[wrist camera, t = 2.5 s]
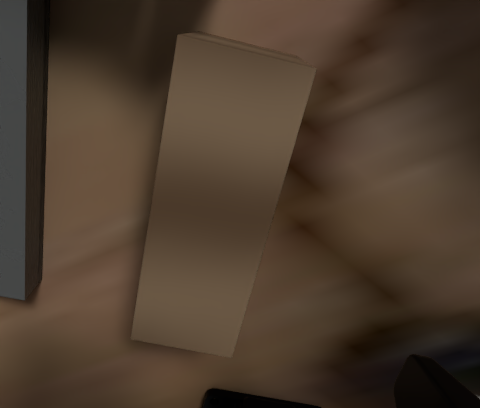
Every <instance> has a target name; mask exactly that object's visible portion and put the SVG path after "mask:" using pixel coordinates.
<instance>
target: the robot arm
mask: <svg viewBox="0 0 480 408" xmlns="http://www.w3.org/2000/svg"><path fill="white" fill-rule="evenodd" d="M394 397H395V403H396V408H480V399H479V398H478V397H477V396H476V395H474V394H473V393H472V392H471V391H470V390H469V389H467V388H466V387H465V386H464V385H463V384H462V383H460V382H459V381H458V380H457V379H456V378H455V377H453V376H452V375H451V374H450V373H449V372H448V371H446V370H445V369H444V368H443V367H442V366H441V365H439V364H438V363H437V362H436V361H435V360H434V359H432V358H430V357H427V356H422V355H416V354H412V355H410V356H408V358H407V359H406V361H405V363H404V365H403V367H402V369H401V371H400V373H399V375H398V377H397V379H396V381H395V384H394ZM214 398H216V399H214ZM202 408H321V407H318V406H313V405H307V404H302V403H296V402H290V401H284V400H279V399H273V398H267V397H261V396H255V395H250V394H244V393H238V392H232V391H226V390H221V389H210V390H209V391H207V393H206V395H205V399H204V402H203V406H202Z"/></svg>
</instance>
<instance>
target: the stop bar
mask: <svg viewBox="0 0 480 408" xmlns="http://www.w3.org/2000/svg"><path fill="white" fill-rule="evenodd" d="M315 73H316V68H315V67H313V66H311V65H310V64H308V63H307V62H305V61H303V60H302V59H300V58H299V57H297V56H295V55H291V54H287V53H283V52H279V51H275V50H271V49H267V48H263V47H259V46H255V45H251V44H247V43H243V42H239V41H235V40H231V39H227V38H223V37H219V36H215V35H211V34H207V33H203V32H199V31H198V32H191V33H184V34H178V35H177V41H176V48H175V54H174V61H173V67H172V74H171V80H170V87H169V93H168V99H167V106H166V112H165V119H164V125H163V132H162V138H161V145H160V151H159V158H158V164H157V171H156V177H155V184H154V190H153V197H152V203H151V209H150V216H149V222H148V229H147V235H146V242H145V248H144V255H143V261H142V268H141V274H140V281H139V287H138V294H137V300H136V306H135V313H134V319H133V326H132V332H131V339H132V340H137V341H142V342H148V343H153V344H158V345H164V346H169V347H175V348H180V349H185V350H191V351H196V352H201V353H207V354H212V355H217V356H223V357H228V358H232V356H233V353H234V349H235V346H236V342H237V339H238V335H239V332H240V329H241V325H242V322H243V318H244V315H245V312H246V308H247V305H248V301H249V298H250V295H251V291H252V288H253V284H254V281H255V277H256V274H257V271H258V267H259V264H260V260H261V257H262V254H263V250H264V247H265V243H266V240H267V237H268V233H269V230H270V226H271V223H272V220H273V216H274V213H275V209H276V206H277V202H278V199H279V196H280V192H281V189H282V185H283V182H284V179H285V175H286V172H287V168H288V165H289V162H290V158H291V155H292V151H293V148H294V145H295V141H296V138H297V134H298V131H299V127H300V124H301V121H302V117H303V114H304V110H305V107H306V104H307V100H308V97H309V93H310V90H311V87H312V83H313V80H314V76H315Z"/></svg>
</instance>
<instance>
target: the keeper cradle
mask: <svg viewBox="0 0 480 408" xmlns="http://www.w3.org/2000/svg"><path fill="white" fill-rule="evenodd" d="M49 10H50V0H0V296H3V297H9V298H14V299H20V300H25V299H26V298H27V297H28V296H29V294H30V293H31V292H32V291H33V289H34V288H35V287H36V286H37V285H38V283H39V282H40V281H41V280H42V258H43V223H44V187H45V152H46V116H47V81H48V46H49Z"/></svg>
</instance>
